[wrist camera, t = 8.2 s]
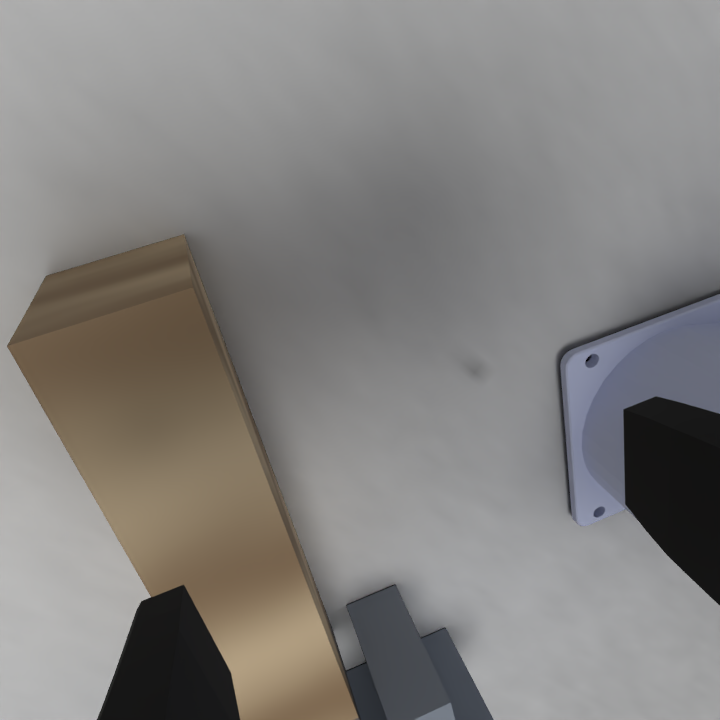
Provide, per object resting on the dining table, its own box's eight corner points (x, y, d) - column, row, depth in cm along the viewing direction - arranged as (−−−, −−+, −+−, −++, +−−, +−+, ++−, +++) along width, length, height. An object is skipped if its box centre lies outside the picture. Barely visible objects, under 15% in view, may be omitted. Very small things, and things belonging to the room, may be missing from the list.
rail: (46, 275, 15) (6, 346, 11) (184, 234, 16) (193, 287, 12) (245, 668, 23) (263, 793, 19) (333, 631, 23) (368, 744, 19)
